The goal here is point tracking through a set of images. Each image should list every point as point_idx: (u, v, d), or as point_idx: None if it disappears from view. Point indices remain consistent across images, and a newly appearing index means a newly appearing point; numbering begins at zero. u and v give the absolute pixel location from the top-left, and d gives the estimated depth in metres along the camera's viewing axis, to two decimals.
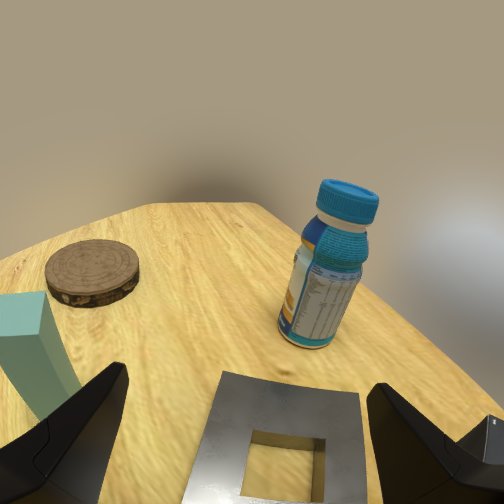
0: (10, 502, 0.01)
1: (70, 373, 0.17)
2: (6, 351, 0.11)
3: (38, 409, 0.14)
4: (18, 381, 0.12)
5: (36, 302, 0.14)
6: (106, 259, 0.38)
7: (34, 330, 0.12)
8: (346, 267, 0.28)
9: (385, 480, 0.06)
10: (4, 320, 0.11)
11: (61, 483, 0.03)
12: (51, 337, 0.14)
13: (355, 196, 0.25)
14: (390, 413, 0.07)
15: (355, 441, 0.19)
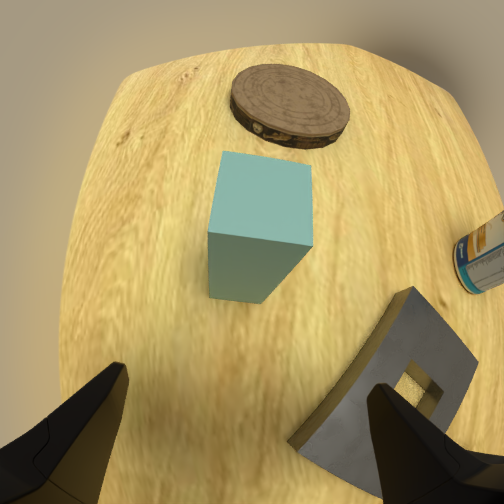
0: (10, 502, 0.01)
1: None
2: (236, 248, 0.12)
3: (219, 285, 0.19)
4: (222, 268, 0.15)
5: (300, 183, 0.13)
6: (312, 96, 0.31)
7: (305, 237, 0.12)
8: None
9: (385, 480, 0.06)
10: (246, 205, 0.12)
11: (62, 483, 0.03)
12: None
13: None
14: (390, 413, 0.07)
15: (455, 404, 0.19)
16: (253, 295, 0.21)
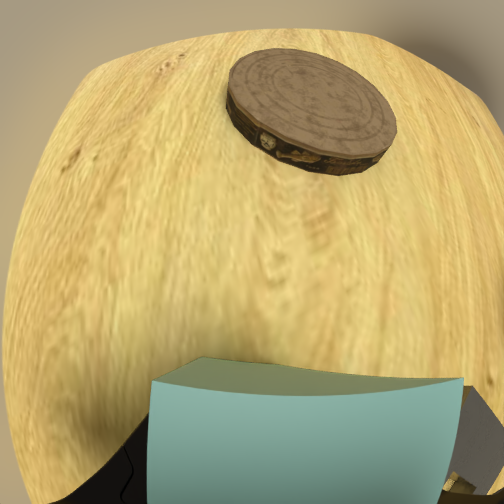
0: None
1: None
2: None
3: None
4: None
5: (429, 460, 0.02)
6: (345, 94, 0.21)
7: None
8: None
9: None
10: None
11: None
12: None
13: None
14: None
15: (483, 492, 0.09)
16: None
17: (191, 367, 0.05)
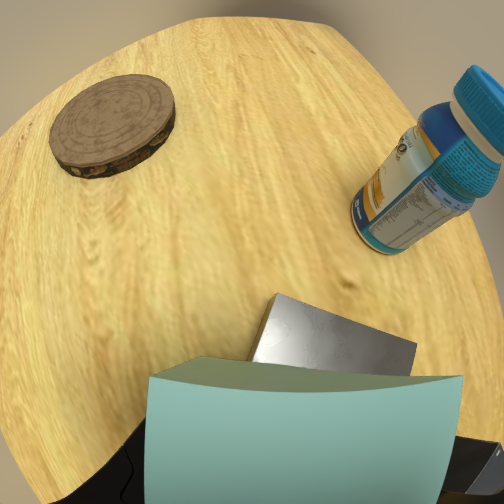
0: None
1: None
2: None
3: None
4: None
5: (429, 458, 0.02)
6: (128, 104, 0.26)
7: None
8: (465, 196, 0.15)
9: None
10: None
11: None
12: None
13: None
14: None
15: None
16: None
17: (190, 365, 0.05)
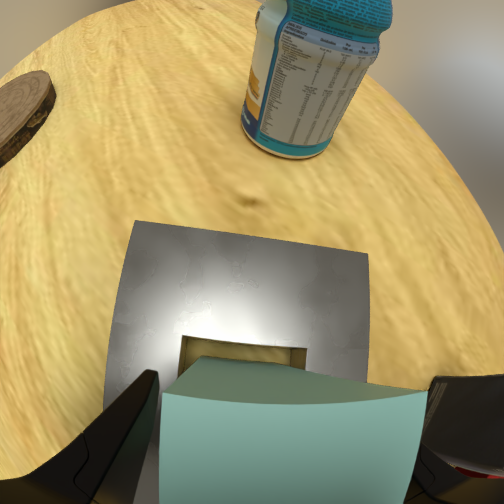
0: None
1: None
2: None
3: None
4: None
5: (393, 460, 0.03)
6: (12, 99, 0.18)
7: None
8: (352, 30, 0.10)
9: None
10: None
11: (104, 500, 0.03)
12: None
13: None
14: None
15: (355, 349, 0.14)
16: None
17: (192, 372, 0.06)
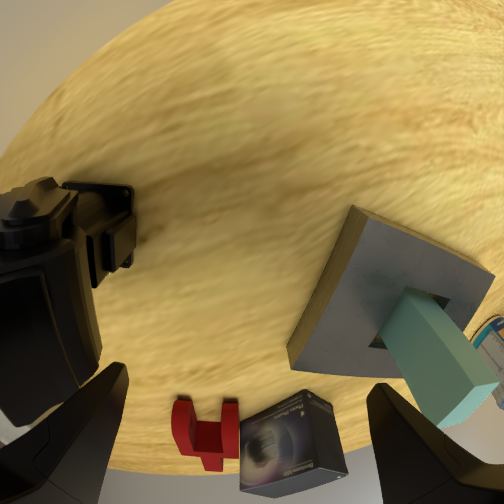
0: (10, 502, 0.01)
1: None
2: (452, 386, 0.12)
3: (412, 317, 0.18)
4: (436, 350, 0.15)
5: (459, 419, 0.12)
6: None
7: None
8: None
9: (385, 480, 0.06)
10: (470, 400, 0.11)
11: (62, 483, 0.03)
12: None
13: None
14: (390, 413, 0.07)
15: (398, 371, 0.24)
16: (388, 329, 0.21)
17: None
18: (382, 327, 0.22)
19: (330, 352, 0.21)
